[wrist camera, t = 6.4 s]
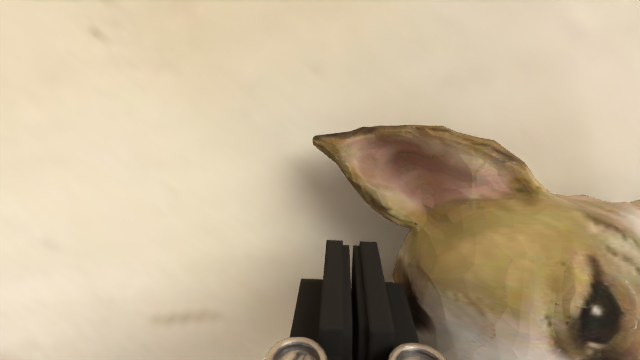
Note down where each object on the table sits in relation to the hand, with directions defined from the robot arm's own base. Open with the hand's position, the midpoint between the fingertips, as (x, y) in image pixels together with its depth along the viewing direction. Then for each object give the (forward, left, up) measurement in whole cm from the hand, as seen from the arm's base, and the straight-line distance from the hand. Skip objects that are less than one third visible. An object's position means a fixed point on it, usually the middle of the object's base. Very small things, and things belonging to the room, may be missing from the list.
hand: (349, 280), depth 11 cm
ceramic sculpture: (+6, 0, -4) cm, 7 cm away
